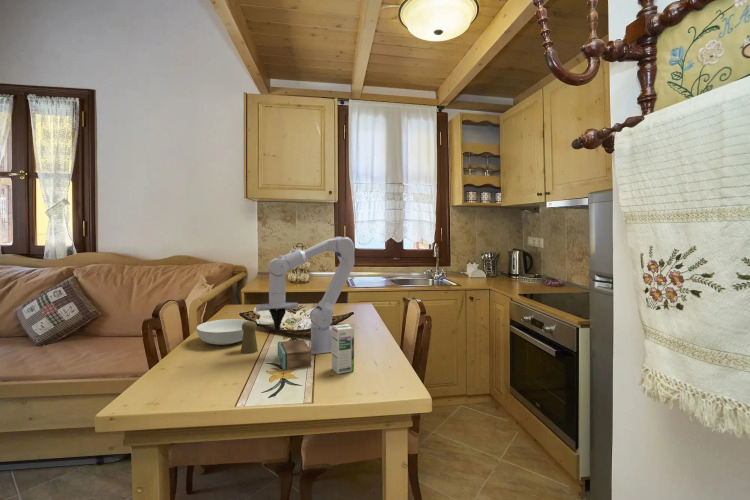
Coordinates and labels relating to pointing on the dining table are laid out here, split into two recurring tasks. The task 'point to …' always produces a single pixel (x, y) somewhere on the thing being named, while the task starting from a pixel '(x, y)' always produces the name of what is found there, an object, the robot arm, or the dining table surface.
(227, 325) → the serving bowl
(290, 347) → the walnut cabinet
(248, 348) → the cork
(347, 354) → the syrup box
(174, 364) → the dining table surface
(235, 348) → the dining table surface
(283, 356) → the teal door
